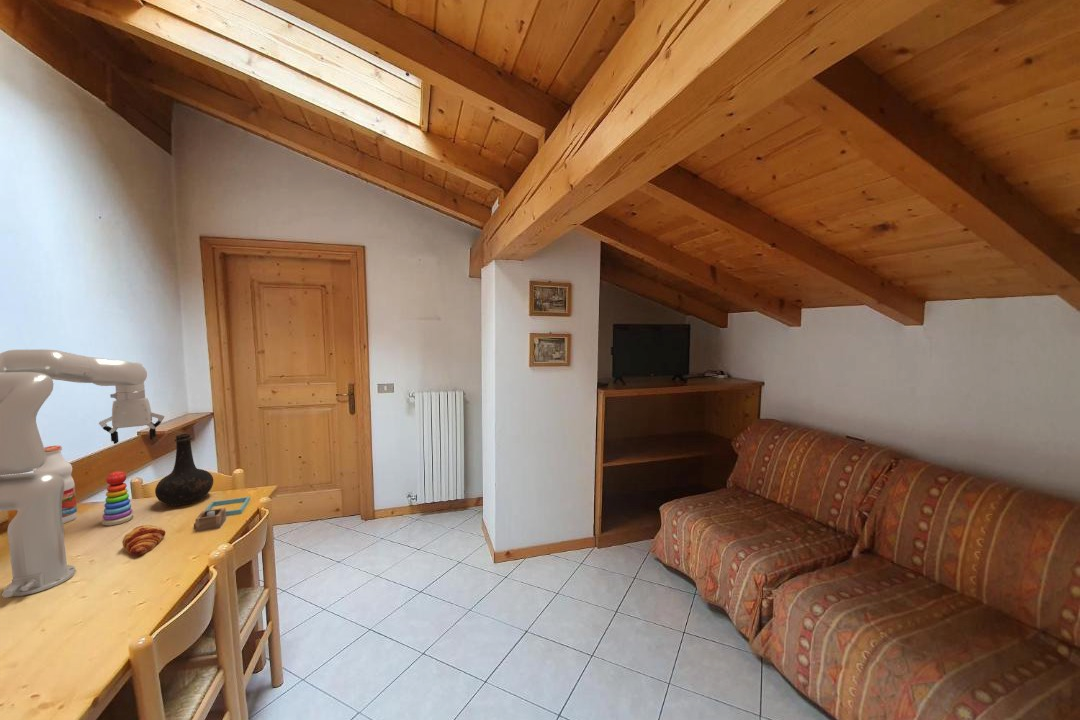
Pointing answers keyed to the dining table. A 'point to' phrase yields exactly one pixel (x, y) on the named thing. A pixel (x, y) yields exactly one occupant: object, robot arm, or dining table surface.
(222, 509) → the collar
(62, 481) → the robot arm
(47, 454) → the fruit juice
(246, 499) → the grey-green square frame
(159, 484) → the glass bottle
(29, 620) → the dining table surface
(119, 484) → the stacking toy
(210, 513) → the stake
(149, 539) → the croissant
